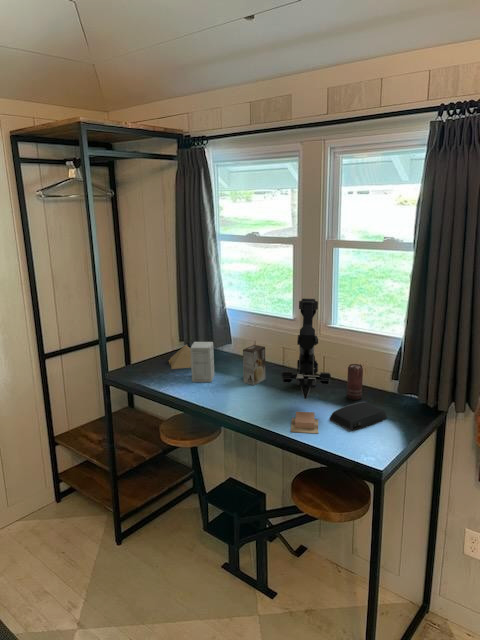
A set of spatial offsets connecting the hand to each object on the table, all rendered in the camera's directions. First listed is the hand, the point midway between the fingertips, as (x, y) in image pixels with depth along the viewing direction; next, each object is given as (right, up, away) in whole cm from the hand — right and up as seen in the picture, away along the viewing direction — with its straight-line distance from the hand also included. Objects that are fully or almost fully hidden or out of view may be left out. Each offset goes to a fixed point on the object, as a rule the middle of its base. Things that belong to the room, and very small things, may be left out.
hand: (305, 398), depth 188 cm
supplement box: (-42, +2, +43) cm, 60 cm away
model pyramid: (-53, +8, +65) cm, 84 cm away
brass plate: (-1, -10, -5) cm, 11 cm away
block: (0, -6, +1) cm, 6 cm away
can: (+23, -3, +20) cm, 31 cm away
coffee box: (-18, +2, +39) cm, 43 cm away
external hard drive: (+20, -9, +1) cm, 22 cm away
